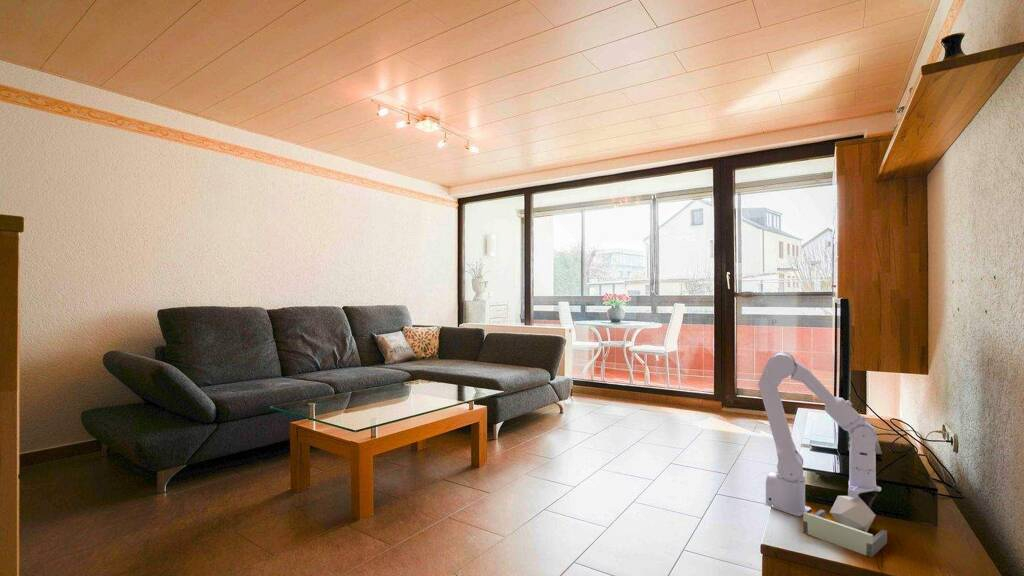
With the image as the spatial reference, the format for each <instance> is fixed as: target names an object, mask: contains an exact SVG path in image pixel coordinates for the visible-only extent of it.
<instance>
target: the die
mask: <svg viewBox="0 0 1024 576" xmlns="http://www.w3.org/2000/svg"><path fill="white" fill-rule="evenodd" d="M829 514H830V515H831V517H832V518H834V520H835V522H837V523H840V524H843V525H846V526H849V527H852V528H855V529H858V530H861V531H864V532H867V533H868V531H869V529H870V528H871V525H872V523H873V521H874V519H875V518H876V515H877V514H875V513H874V512H873V510H872V509H870V508H869V507H868V506H867V505H866V504H865V503H864V502H863V500H862V499H861V498H860V497H859V496H858V498H857V499H856V498H853V497H849V496H848V495H837V497H836V499H835V501H834V503H833V505H832V506H831V509H830V511H829Z"/></svg>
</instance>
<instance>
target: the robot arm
mask: <svg viewBox="0 0 1024 576" xmlns="http://www.w3.org/2000/svg"><path fill="white" fill-rule="evenodd" d="M790 376H791V377H790ZM789 377H790V380H793V381H795V382H801V383H802V384H804V386H806V388H808V390H810V391H811V392H812V393H813V394H814V395H815V396H816V397H817V398H818V399H819V400H820V401H821V402H823V404H824V411H825V413H826V414H828V415H829V416H830V418H831V419H833V421H834V422H836V424H838V426H839V427H841V429H842V430H844V431H846V432H848V434H849V439H850V443H849V444H850V446H849V447H848V448H849V451H848V452H849V456H848V457H849V460H848V461H849V465H848V466H849V467H848V468H849V473H848V475H849V476H848V477H849V479H848V488H847V496H849V497H853V498H856V499H857V498H858V496H859V497H860V498H861V499H862V500H863V502H864V503H865V504H866V505H867V506H868V507H869V508H870V509H871V508H872V505H873V502H874V500H875V498H877V496H878V492H881V491H882V487H881V486H879V485H877V477H876V475H877V471H876V468H877V465H876V463H877V462H876V461H877V459H876V458H877V457H876V456H877V455H876V454H877V453H876V443H877V442H878V438H879V437H878V435H877V432H876V430H875V429H874V426H873V425H872V424H871V422H870V421H868V420H867V418H866V417H865V416H864V415H861V414H860V413H859V412H858V411H857V410H856V409H855V408H853V403H852V402H851V401H850V400H848V399H847V400H845V399H844V398H843V397H837V396H834V395H833V394H832V393H831V391H830V390H829V389H827V387H826V386H825V385H824V384H823V383H822V382H821V381H820V380H819V379H818V378H817V377H816V376H815V375H814V373H813V372H811V370H809V368H808V367H806V366H805V365H804V364H803V363H802V362H800V361H799V360H798V359H795V357H794V356H793V355H792V354H791V353H789V352H786V351H778V352H776V353H774V354H773V355H772V356H771V357H770V358H769V359H768V360H767V361H766V364H765V366H764V368H763V371H762V373H761V375H760V378H759V380H758V388H759V391H760V395H761V399H762V402H763V405H764V409H765V413H766V416H767V420H768V423H769V427H770V430H771V433H772V438H773V441H774V444H775V449H776V451H775V452H776V455H777V460H778V461H777V466H776V467H777V468H776V469H777V471H775V472H774V471H770V472H769V473H768V474H767V476H766V479H765V502H764V506H767V507H769V508H771V509H772V508H773V509H776V510H779V511H781V512H784V513H786V514H790V515H792V516H795V517H799V518H800V517H801V516H803V513H804V512H807V513H809V511H811V510H812V508H811V507H810V506H807V505H806V476H804V467H803V465H804V458H803V456H802V455H801V453H799V451H798V449H797V447H796V444H795V443H794V440H793V437H792V434H791V430H790V426H789V423H788V419H787V416H786V412H785V409H784V406H783V402H782V400H781V396H780V392H779V389H778V387H779V385H780V384H781V383H782V382H783V380H785V379H786V378H789ZM772 505H773V507H772ZM871 510H872V509H871Z"/></svg>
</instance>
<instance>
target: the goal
mask: <svg viewBox="0 0 1024 576" xmlns="http://www.w3.org/2000/svg"><path fill="white" fill-rule="evenodd" d="M802 518H803V519H802V520H803V525H802V528H803V529H802V530H803V531H802V532H803V533H804V534H807V535H810V536H811V537H815V538H817V539H820V540H823V541H825V542H828V543H831V544H834V545H836V546H839V547H842V548H845V549H848V550H850V551H853V552H856V553H858V554H861V555H864V556H866V557H869V558H873V557H875V555H876V554H877V553H878V552H879V551H880V550H881V549H882V548H883V547H884V546H886V545H887V544H888V530H886V529H880V531H878V532H877V533H876V534H875V535H874V534H872V533H869V532H868V531H867V532H864V531H861V530H858V529H855V528H852V527H849V526H846V525H843V524H840V523H838V522H837V521H834V520H831V519H828V518H826V510H824V509H819V510H818V511H816V512H815V513H810V512H804V513H803V515H802Z"/></svg>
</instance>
